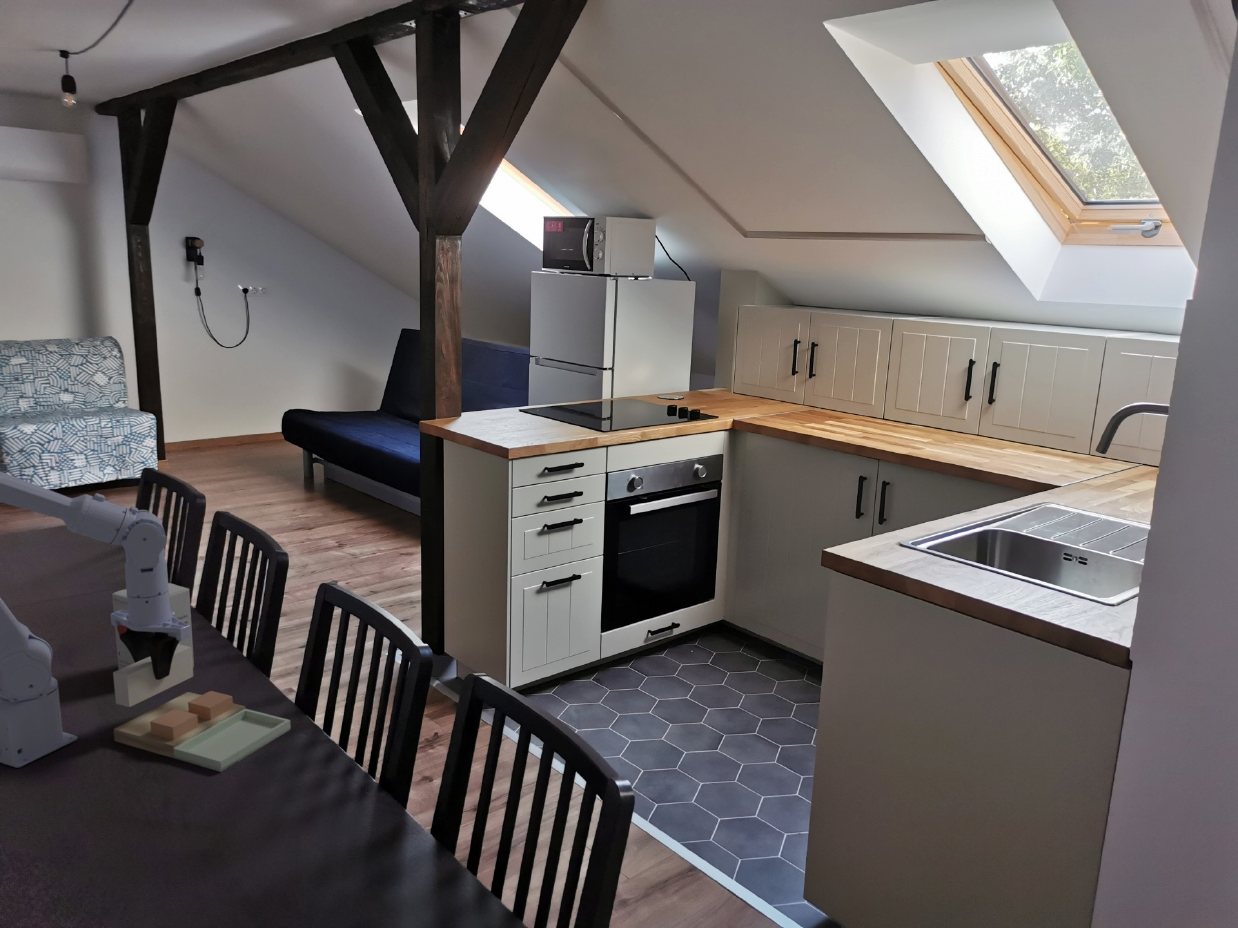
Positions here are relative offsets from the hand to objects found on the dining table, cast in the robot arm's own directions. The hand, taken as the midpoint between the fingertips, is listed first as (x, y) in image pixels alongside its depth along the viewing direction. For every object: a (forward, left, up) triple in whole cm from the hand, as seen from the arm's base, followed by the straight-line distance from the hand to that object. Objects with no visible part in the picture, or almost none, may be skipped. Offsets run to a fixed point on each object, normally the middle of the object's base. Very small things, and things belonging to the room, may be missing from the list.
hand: (154, 675), depth 146 cm
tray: (0, -15, -8) cm, 17 cm away
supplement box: (+14, +16, -8) cm, 23 cm away
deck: (0, -5, -8) cm, 9 cm away
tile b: (+3, -7, -6) cm, 10 cm away
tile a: (-4, -7, -6) cm, 10 cm away
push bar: (0, 0, -2) cm, 2 cm away
